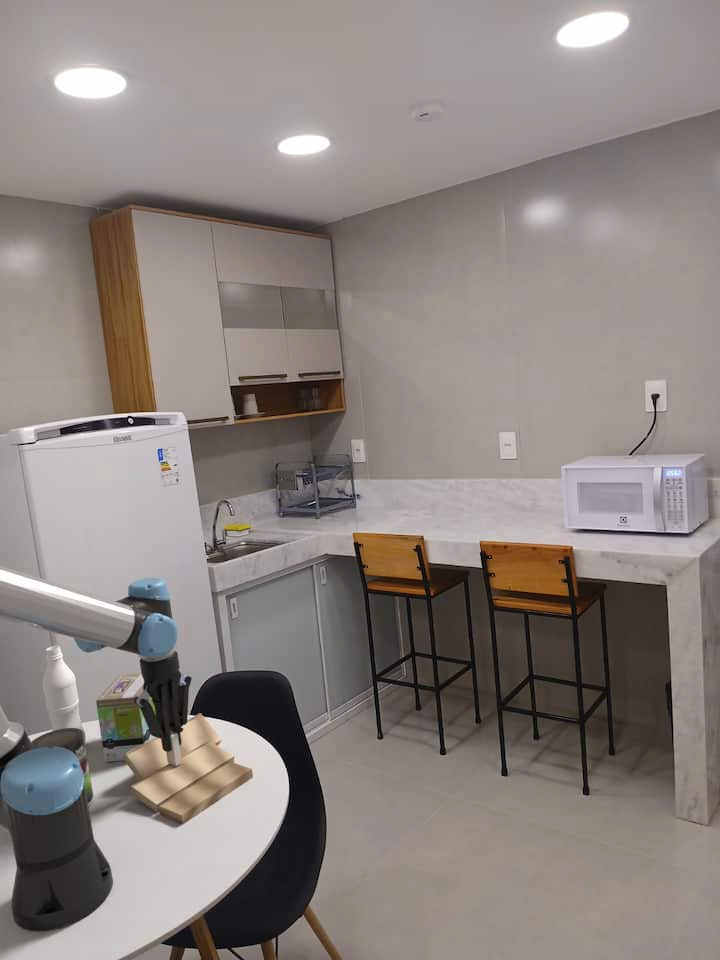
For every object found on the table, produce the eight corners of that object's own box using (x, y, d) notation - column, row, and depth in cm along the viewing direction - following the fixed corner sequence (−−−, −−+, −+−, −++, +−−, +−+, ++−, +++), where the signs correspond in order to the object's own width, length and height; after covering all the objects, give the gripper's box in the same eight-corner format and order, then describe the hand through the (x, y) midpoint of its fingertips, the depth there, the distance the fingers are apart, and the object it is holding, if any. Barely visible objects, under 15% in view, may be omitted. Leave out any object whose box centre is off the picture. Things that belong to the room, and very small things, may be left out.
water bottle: (47, 757, 170) (29, 654, 167) (68, 742, 177) (50, 642, 174) (73, 758, 168) (55, 653, 165) (93, 743, 175) (76, 642, 171)
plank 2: (156, 812, 141) (156, 804, 141) (131, 793, 146) (130, 785, 145) (234, 763, 157) (234, 755, 156) (208, 747, 161) (208, 740, 161)
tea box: (148, 759, 164) (138, 695, 162) (104, 763, 164) (93, 700, 162) (167, 727, 179) (158, 669, 177) (126, 732, 179) (116, 673, 177)
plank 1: (144, 788, 150) (147, 783, 149) (123, 758, 153) (125, 753, 152) (219, 744, 165) (221, 739, 164) (198, 717, 169) (200, 712, 168)
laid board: (183, 824, 136) (181, 814, 136) (159, 814, 141) (158, 804, 140) (253, 777, 150) (251, 768, 150) (229, 769, 155) (228, 760, 154)
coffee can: (104, 791, 152) (93, 726, 150) (75, 821, 142) (63, 752, 140) (60, 791, 154) (48, 727, 152) (28, 820, 144) (15, 752, 142)
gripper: (142, 669, 142) (160, 783, 145) (195, 645, 152) (210, 752, 155) (119, 663, 146) (137, 773, 150) (172, 640, 156) (187, 744, 160)
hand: (174, 762), depth 153 cm, fingers closed
